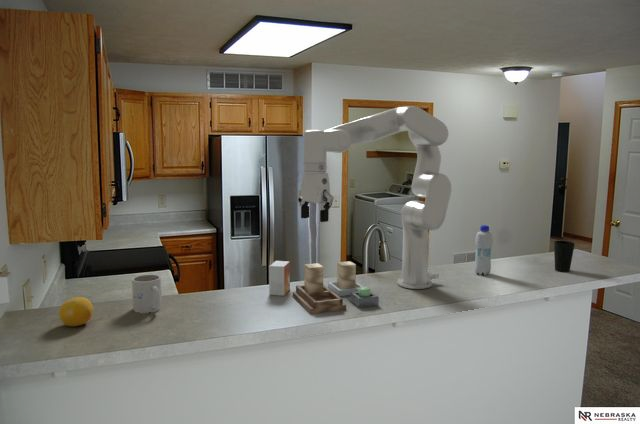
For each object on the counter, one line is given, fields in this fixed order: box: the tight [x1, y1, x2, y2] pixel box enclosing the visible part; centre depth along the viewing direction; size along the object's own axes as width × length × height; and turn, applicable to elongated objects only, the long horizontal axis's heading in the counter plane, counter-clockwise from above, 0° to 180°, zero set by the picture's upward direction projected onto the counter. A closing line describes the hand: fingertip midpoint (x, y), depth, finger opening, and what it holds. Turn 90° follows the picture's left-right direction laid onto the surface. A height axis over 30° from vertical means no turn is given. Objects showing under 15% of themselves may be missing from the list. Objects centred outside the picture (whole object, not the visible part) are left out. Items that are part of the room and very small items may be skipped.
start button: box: [358, 286, 372, 297], centre depth 163 cm, size 4×4×3 cm
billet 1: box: [303, 262, 324, 293], centre depth 168 cm, size 5×5×10 cm
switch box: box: [349, 291, 380, 309], centre depth 164 cm, size 7×7×3 cm
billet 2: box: [336, 260, 357, 290], centre depth 177 cm, size 5×5×10 cm
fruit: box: [58, 296, 94, 327], centre depth 143 cm, size 9×8×8 cm
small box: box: [268, 260, 291, 297], centre depth 175 cm, size 8×6×10 cm
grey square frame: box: [327, 280, 364, 297], centre depth 178 cm, size 10×11×2 cm
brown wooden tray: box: [292, 283, 347, 315], centre depth 164 cm, size 12×19×4 cm, turn 20°
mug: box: [131, 274, 163, 314], centre depth 156 cm, size 12×9×10 cm
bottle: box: [474, 224, 494, 276], centre depth 199 cm, size 7×7×20 cm
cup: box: [553, 240, 576, 273], centre depth 206 cm, size 8×8×12 cm
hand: (314, 219), depth 164 cm, fingers open, 9 cm apart
